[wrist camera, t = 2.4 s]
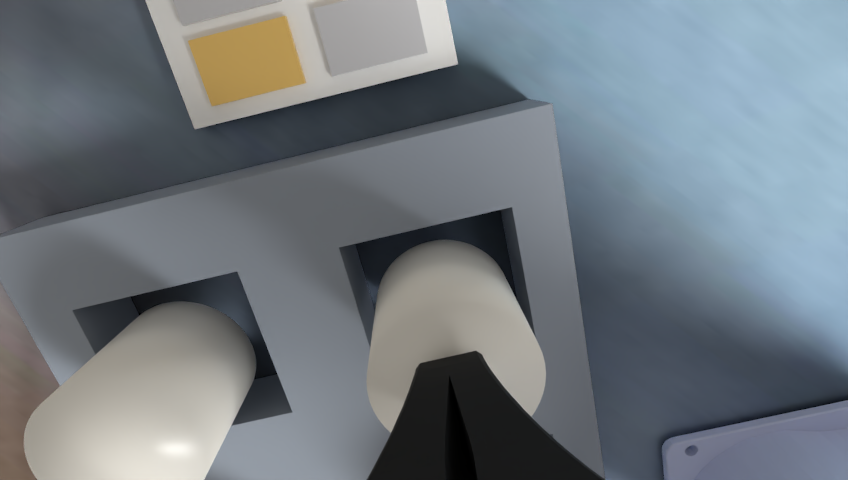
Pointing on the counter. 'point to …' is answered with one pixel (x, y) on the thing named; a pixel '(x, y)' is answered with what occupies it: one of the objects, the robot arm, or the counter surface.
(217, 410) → the button
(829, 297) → the counter surface
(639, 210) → the counter surface
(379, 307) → the button
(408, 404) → the robot arm
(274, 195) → the board
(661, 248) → the counter surface
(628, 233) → the counter surface
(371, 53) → the tile
